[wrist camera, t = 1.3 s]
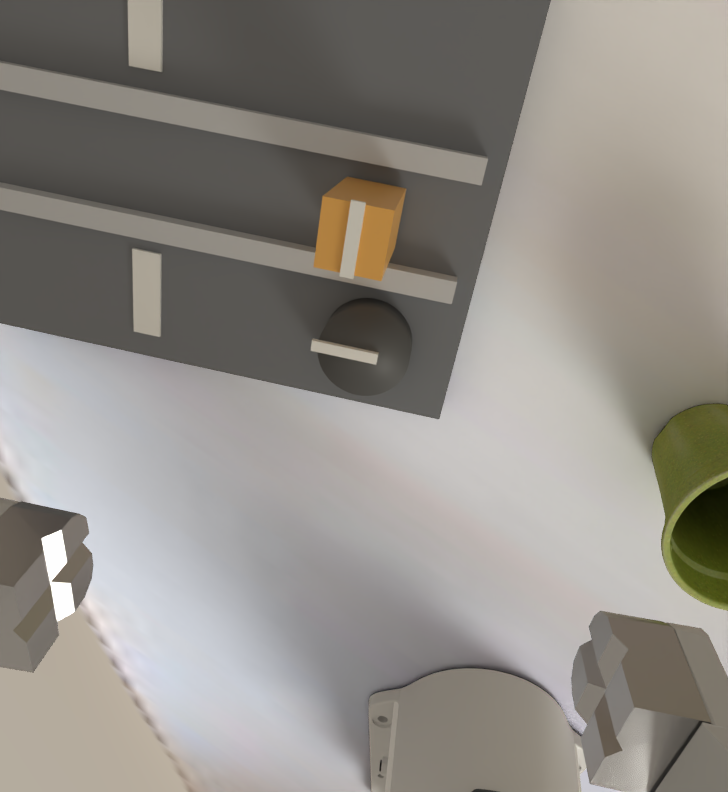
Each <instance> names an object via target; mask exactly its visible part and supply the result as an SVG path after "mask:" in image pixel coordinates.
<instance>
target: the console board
mask: <svg viewBox="0 0 728 792" xmlns="http://www.w3.org/2000/svg"><path fill="white" fill-rule="evenodd" d="M550 1H551V0H0V323H2V324H7V325H11V326H16V327H20V328H25V329H29V330H34V331H38V332H43V333H48V334H52V335H57V336H61V337H66V338H70V339H75V340H80V341H84V342H89V343H93V344H98V345H102V346H107V347H111V348H116V349H121V350H125V351H130V352H134V353H139V354H143V355H148V356H153V357H157V358H162V359H166V360H171V361H175V362H180V363H184V364H189V365H194V366H198V367H203V368H207V369H212V370H216V371H221V372H226V373H230V374H235V375H239V376H244V377H248V378H253V379H258V380H262V381H267V382H271V383H276V384H280V385H285V386H289V387H294V388H299V389H303V390H308V391H312V392H317V393H321V394H326V395H331V396H335V397H340V398H344V399H349V400H353V401H358V402H362V403H367V404H372V405H376V406H381V407H385V408H390V409H394V410H399V411H404V412H408V413H413V414H417V415H422V416H426V417H431V418H435V419H439V418H440V414H441V410H442V406H443V403H444V399H445V395H446V391H447V388H448V384H449V380H450V376H451V373H452V369H453V365H454V361H455V358H456V354H457V350H458V346H459V343H460V339H461V335H462V331H463V328H464V324H465V320H466V316H467V313H468V309H469V305H470V301H471V298H472V294H473V290H474V286H475V283H476V279H477V275H478V271H479V268H480V264H481V260H482V256H483V253H484V249H485V245H486V241H487V238H488V234H489V230H490V226H491V223H492V219H493V215H494V211H495V208H496V204H497V200H498V196H499V193H500V189H501V185H502V181H503V177H504V174H505V170H506V166H507V162H508V159H509V155H510V151H511V147H512V144H513V140H514V136H515V132H516V129H517V125H518V121H519V117H520V114H521V110H522V106H523V102H524V99H525V95H526V91H527V87H528V84H529V80H530V76H531V72H532V69H533V65H534V61H535V57H536V54H537V50H538V46H539V42H540V39H541V35H542V31H543V27H544V24H545V20H546V16H547V12H548V9H549V5H550ZM346 177H352V178H357V179H362V180H367V181H372V182H377V183H382V184H387V185H392V186H397V187H402V188H406V193H405V198H404V204H403V209H402V214H401V219H400V224H399V229H398V235H397V240H396V245H395V249H394V251H393V254H392V256H391V259H390V261H389V264H388V266H387V269H386V271H385V274H384V276H383V278H382V281H377V280H372V279H368V278H363V277H358V276H354V278H353V279H350V278H345V277H340V276H339V275H340V273H339V272H334V271H329V270H325V269H320V268H315V267H313V266H314V259H315V251H316V243H317V236H318V228H319V220H320V212H321V205H322V197H323V195H325V194H326V193H327V192H328V191H330V190H331V189H332V188H333V187H335V186H336V185H337V184H338V183H340V182H341V181H342V180H343V179H345V178H346Z"/></svg>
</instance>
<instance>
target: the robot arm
mask: <svg viewBox="0 0 728 792" xmlns="http://www.w3.org/2000/svg"><path fill="white" fill-rule="evenodd" d="M88 534H89V529H88V524H87V519H86V517H85V516H83V515H81V514H77V513H73V512H68V511H63V510H59V509H54V508H49V507H45V506H40V505H35V504H31V503H26V502H18V501H14V500H8V499H4V498H0V667H3V668H9V669H15V670H21V671H27V672H34V671H35V669H36V668H37V666H38V665H39V663H40V662H41V661H42V659H43V658H44V656H45V655H46V653H47V652H48V650H49V649H50V647H51V646H52V645H53V643H54V642H55V640H56V638H57V637H58V636H59V633H58V623H57V622H58V621H59V620H61V619H63V618H65V617H67V616H68V615H70V614H72V613H74V612H75V611H76V609H77V608H78V606H79V605H80V603H81V602H82V600H83V599H84V597H85V595H86V592H87V590H88V587H89V584H90V582H91V579H92V571H93V559H92V553H91V552H90V551H89V550H88V548H87V547H86V546H85V545H84V544H83V543H82V542H83V540H84V539H85V538H86V536H87V535H88ZM589 630H590V634H591V638H592V640H590V641H588V642H586V643H584V644H583V645H581V646H580V647H579V649H578V652H577V654H576V656H575V659H574V662H573V670H572V677H571V683H572V696H573V701H574V707H575V710H576V711H577V712H578V714H579V715H580V716H581V717H582V719H583V720H584V721H585V722H586V723H587V726H586V728H585V730H584V732H583V734H582V736H579V735H578V734H577V733H576V732H574V731H573V730H572V729H571V727H570V725H569V723H568V721H567V719H566V716H565V714H564V712H563V710H562V709H561V707H560V706H559V705H558V703H557V702H556V701H555V700H554V699H553V698H552V697H551V696H550V695H549V694H548V693H546V692H545V691H544V690H542V689H541V688H539V687H538V686H536V685H534V684H532V683H530V682H528V681H526V680H524V679H522V678H519V677H517V676H514V675H511V674H507V673H503V672H499V671H494V670H487V669H476V668H464V669H452V670H446V671H441V672H437V673H434V674H431V675H428V676H425V677H423V678H421V679H419V680H417V681H415V682H414V683H412V684H410V685H408V686H406V687H404V688H401V689H394V690H388V691H382V692H378V693H375V694H373V695H372V696H371V697H370V698H369V741H370V770H371V792H581V783H580V774H581V773H582V772H583V771H584V770H585V769H586V768H587V772H588V777H589V782H590V784H593V785H597V786H601V787H606V788H610V789H615V790H619V791H623V792H728V677H727V675H726V672H725V670H724V668H723V666H722V664H721V662H720V660H719V657H718V655H717V653H716V651H715V649H714V647H713V644H712V642H711V640H710V638H709V636H708V635H707V634H706V633H705V632H704V631H703V630H702V629H701V628H696V627H690V626H684V625H679V624H673V623H664V622H662V621H656V620H651V619H645V618H639V617H633V616H628V615H622V614H616V613H611V612H605V611H599V612H598V613H597V614H596V615H594V617H593V619H592V621H591V623H590V625H589Z"/></svg>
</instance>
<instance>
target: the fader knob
mask: <svg viewBox="0 0 728 792" xmlns="http://www.w3.org/2000/svg"><path fill="white" fill-rule="evenodd" d="M405 193H406V188H402V187H397V186H392V185H387V184H382V183H377V182H372V181H367V180H362V179H357V178H352V177H346V178H345V179H343V180H342V181H341V182H340V183H338V184H337V185H336V186H335V187H333V188H332V189H331V190H330V191H328V192H327V193H326V194H325V195H323V197H322V205H321V212H320V220H319V228H318V236H317V243H316V251H315V259H314V266H313V267H315V268H320V269H325V270H329V271H334V272H339V273H340V275H339V276H340V277H345V278H350V279H353V278H354V276H358V277H363V278H368V279H372V280H377V281H382V278H383V276H384V274H385V271H386V269H387V266H388V264H389V261H390V259H391V256H392V254H393V251H394V249H395V245H396V240H397V235H398V229H399V224H400V219H401V214H402V209H403V204H404V198H405Z"/></svg>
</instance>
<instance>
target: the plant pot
mask: <svg viewBox="0 0 728 792" xmlns="http://www.w3.org/2000/svg"><path fill="white" fill-rule="evenodd" d="M652 461H653V465H654V469H655V473H656V477H657V481H658V485H659V489H660V493H661V498H662V502H663V507H664V512H665V525H664V528H663V532H662V539H661V550H662V556H663V559H664V562H665V565H666V568H667V570H668V572H669V574H670V575H671V577H672V578H673V580H674V581H675V582H676V583H677V584H678V586H679V587H680V588H682V589H683V590H684V591H685V592H686V593H688V594H689V595H690V596H692V597H693V598H695V599H697V600H699V601H701V602H703V603H705V604H707V605H710V606H712V607H715V608H719V609H723V610H727V611H728V405H724V404H706V405H700V406H696V407H693V408H690V409H687V410H685V411H683V412H681V413H679V414H677V415H676V416H674V417H673V418H672V419H671V420H670V421H669V422H668V424H667V425H666V426H665V428H664V429H663V430H662V431H661V433H660V434H659V435H658V436H657V437H656V438H655V440H654V443H653V447H652Z"/></svg>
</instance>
